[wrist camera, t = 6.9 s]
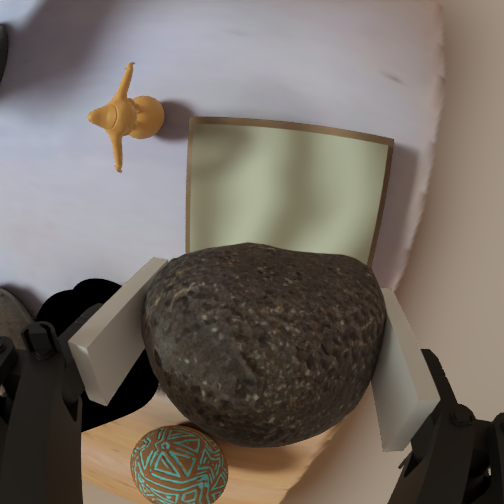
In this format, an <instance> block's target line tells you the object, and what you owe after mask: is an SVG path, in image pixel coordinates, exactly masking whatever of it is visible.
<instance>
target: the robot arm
mask: <svg viewBox="0 0 504 504" xmlns="http://www.w3.org/2000/svg"><path fill="white" fill-rule="evenodd" d="M7 48H8V38H7V33H6V30H5V28H4V27H3V26H2V25H0V80H1V77H2V74H3V70H4V66H5V62H6V57H7ZM167 263H168V259H161V258H155V257H153V258H152V259H151V260H150V261H149V262H148V263H147V264H145V265H144V266H143V267H142V268H141V269H140V270H139V271H138V272H137V273H136V274H135V275H134V276H133V277H132V278H131V279H130V280H129V281H127V282H126V283H125V284H124V285H123V286H122V287H121V288H120V289H119V290H118V291H117V292H116V293H115V294H114V295H113V296H112V297H111V298H110V299H109V300H108V301H107V302H106V303H105V304H101V303H97V304H95V305H93V306H91V307H89V308H88V309H87V310H86V311H85V312H84V313H82V314H81V316H80V317H78V318H77V319H76V320H75V322H74V323H72V324H71V325H70V326H69V327H68V328H67V329H66V330H65V331H64V332H63V333H62V334H61V335H60V336H59V337H57V334H56V331H55V328H54V326H53V325H52V324H51V323H49V322H45V321H39V322H34V323H31V324H29V325H27V326H26V327H25V328H23V330H22V331H21V333H20V334H21V337H22V340H23V342H24V345H25V347H26V349H27V350H22V349H16V348H15V345H14V343H13V341H12V340H11V338H9V337H7V336H0V387H1V386H2V387H3V389H4V391H5V392H4V393H3V394H2V395H0V504H83V499H82V498H83V497H82V480H81V479H82V478H81V422H82V399H81V397H80V395H81V394H82V392H83V391H84V390H86V393H87V395H88V397H89V400H92V401H94V402H97V403H99V404H102V405H104V406H107V405H108V404H109V402H110V400H111V399H112V397H113V396H114V394H115V393H116V391H117V389H118V388H119V386H120V385H121V383H122V382H123V380H124V379H125V377H126V376H127V374H128V373H129V371H130V370H131V368H132V366H133V365H134V363H135V362H136V360H137V359H138V357H139V356H140V354H141V353H142V351H143V350H144V348H145V345H144V342H143V338H142V335H141V313H142V308H143V304H144V300H145V297H146V293H147V290H148V288H149V286H150V284H151V283H152V281H153V279H154V278H155V276H156V275H157V273H158V272H159V271H160V270H161V269H162V268H163V267H164V266H165V265H166V264H167ZM380 289H381V291H382V293H383V296H384V300H385V305H386V310H387V318H386V323H385V326H384V333H383V339H382V344H381V348H380V351H379V353H378V358H377V362H376V365H375V369H374V372H373V375H372V377H371V384H372V389H373V394H374V400H375V405H376V410H377V416H378V422H379V428H380V435H381V440H382V448H383V452H388V451H403V450H404V448H405V447H406V446H407V445H408V444H409V442H410V441H411V445H412V451H411V452H410V454H409V455H408V456H407V457H406V458H405V459H404V460H403V462H402V463H401V464H400V465H399V467H398V468H399V469H401V468H402V467H403V465H404V467H403V470H402V472H401V475H400V477H399V479H398V482H397V484H396V486H395V489H394V491H393V493H392V495H391V498H390V500H389V502H388V504H504V413H500V414H499V415H497V416H496V417H495V419H494V420H493V421H492V422H489V421H484V420H477V419H476V418H475V416H474V414H473V412H472V411H471V410H470V409H469V408H468V407H466V406H464V405H462V404H458V403H457V400H456V398H455V396H454V393H453V391H452V388H451V386H450V384H449V382H448V379H447V377H445V372H444V370H443V369H442V366H441V364H440V362H439V359H438V358H437V357H436V356H435V354H434V353H433V352H432V351H431V350H430V349H420V348H419V345H418V343H417V341H416V338H415V336H414V334H413V332H412V330H411V328H410V325H409V323H408V321H407V319H406V317H405V315H404V313H403V311H402V309H401V307H400V305H399V302H398V300H397V298H396V296H395V294H394V292H393V291H392V289H388V288H380ZM489 468H490V469H491V475H489V473H488V469H489Z"/></svg>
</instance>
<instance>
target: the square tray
mask: <svg viewBox="0 0 504 504" xmlns="http://www.w3.org/2000/svg"><path fill="white" fill-rule="evenodd" d="M393 145H394V139H391V138H386V137H382V136H377V135H372V134H366V133H361V132H356V131H350V130H344V129H338V128H331V127H325V126H317V125H310V124H302V123H293V122H284V121H273V120H262V119H248V118H229V117H189V134H188V153H187V180H186V254H187V253H190V252H194V251H198V250H202V249H205V248H211V247H219V246H227V245H234V244H240V243H246V242H251V243H258V244H266V245H270V246H273V247H277V248H281V249H286V250H292V251H301V252H312V253H326V254H343V255H346V256H350V257H353V258H356V259H357V260H359V261H361V262H362V263H364V264H365V265H367V266H368V267H370V268H371V264H372V260H373V256H374V252H375V247H376V243H377V238H378V234H379V229H380V224H381V219H382V214H383V209H384V203H385V198H386V192H387V186H388V180H389V174H390V167H391V160H392V153H393Z"/></svg>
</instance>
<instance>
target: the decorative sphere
mask: <svg viewBox="0 0 504 504" xmlns="http://www.w3.org/2000/svg"><path fill="white" fill-rule="evenodd" d="M130 468H131V474H132V478H133V481H134V483H135V484H136V486H137V488H138V490H139V491H140V492H141V493H142V494H143V496H144V497H145V498H146V499H148V500H149V501H150V502H152V503H153V504H212V503H214V502H215V501H216V500H217V499H218V498H219V497H220V496H221V494H222V493H223V491H224V489H225V487H226V484H227V481H228V465H227V461H226V458H225V456H224V454H223V452H222V450H221V449H220V447H219V446H218V445H217V444H216V443H215V442H214V441H213V440H212V439H211V438H210V437H209V436H207V435H205V434H203V433H202V432H200V431H198V430H196V429H193V428H190V427H186V426H176V425H172V426H164V427H160V428H157V429H155V430H153V431H150V432H149V433H147V434H146V435H144V436H143V437H142V438H141V440H140V441H139V442H138V443H137V444H136V446H135V448H134V450H133V452H132V455H131V461H130Z"/></svg>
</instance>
